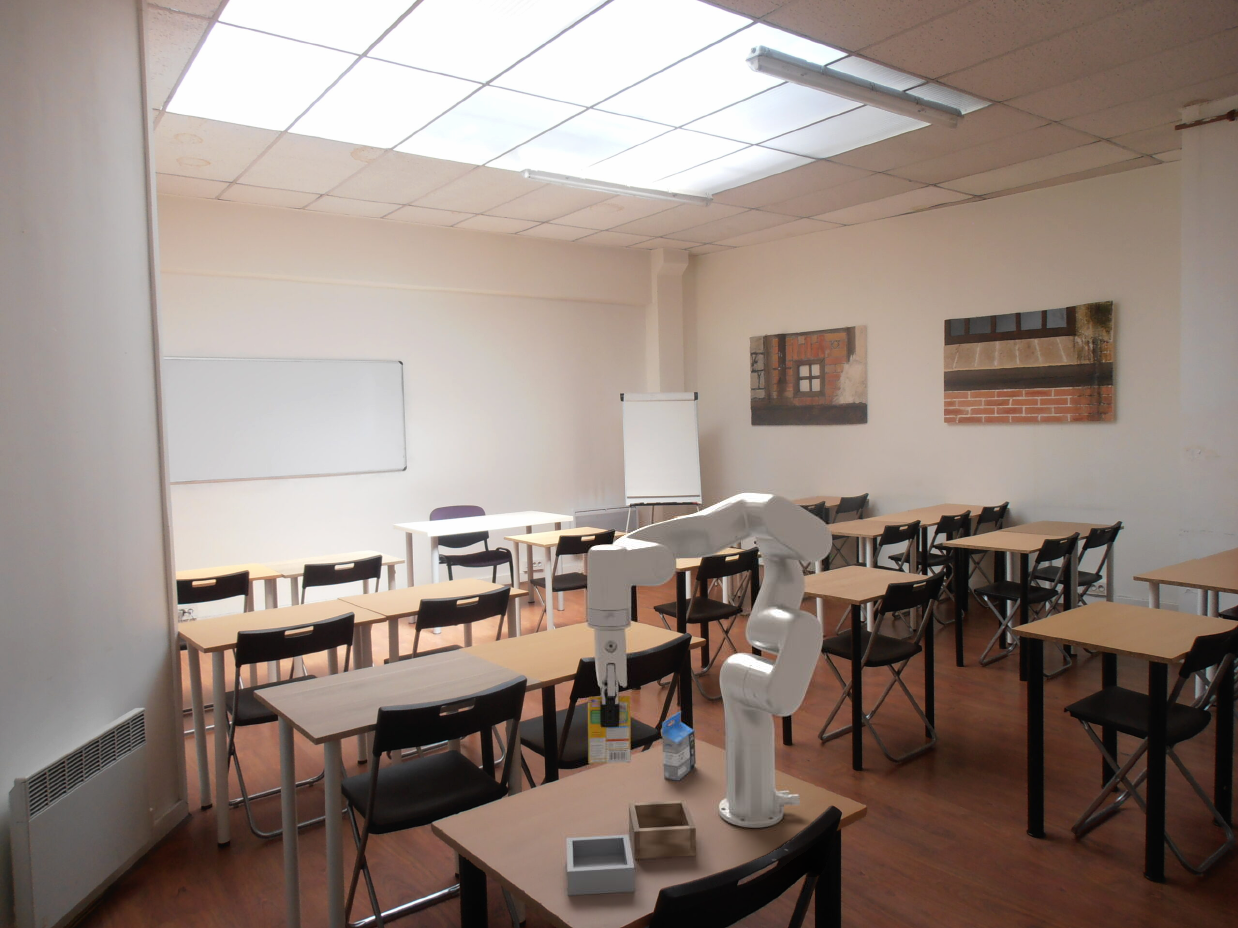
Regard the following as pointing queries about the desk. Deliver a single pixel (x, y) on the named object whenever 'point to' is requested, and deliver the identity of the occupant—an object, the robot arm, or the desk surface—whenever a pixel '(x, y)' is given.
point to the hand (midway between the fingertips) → (609, 721)
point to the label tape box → (677, 748)
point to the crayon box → (609, 734)
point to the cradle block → (599, 865)
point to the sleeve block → (661, 829)
